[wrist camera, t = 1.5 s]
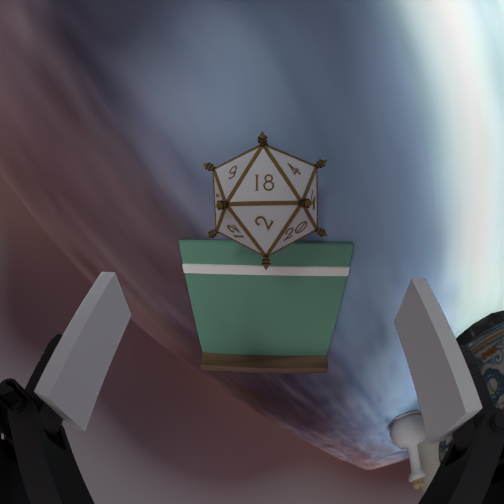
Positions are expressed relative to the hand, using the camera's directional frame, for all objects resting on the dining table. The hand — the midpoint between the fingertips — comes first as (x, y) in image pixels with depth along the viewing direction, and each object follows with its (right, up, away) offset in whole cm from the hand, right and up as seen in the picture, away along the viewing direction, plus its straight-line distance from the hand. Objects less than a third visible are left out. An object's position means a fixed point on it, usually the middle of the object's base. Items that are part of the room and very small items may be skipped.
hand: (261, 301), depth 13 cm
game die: (+1, +8, +11) cm, 14 cm away
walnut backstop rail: (+1, -11, +24) cm, 27 cm away
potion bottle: (+34, -34, +39) cm, 61 cm away
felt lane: (+1, -4, +19) cm, 20 cm away
